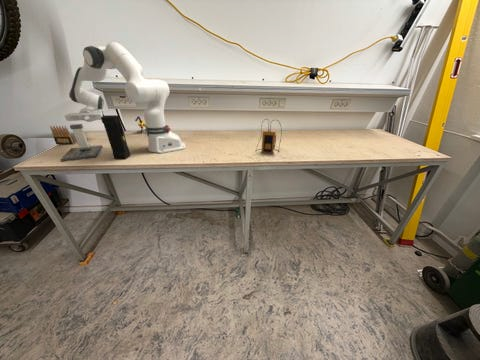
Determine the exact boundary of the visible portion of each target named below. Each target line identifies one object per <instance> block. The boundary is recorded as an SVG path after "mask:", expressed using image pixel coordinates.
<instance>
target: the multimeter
mask: <svg viewBox="0 0 480 360" xmlns="http://www.w3.org/2000/svg"><path fill="white" fill-rule="evenodd" d="M265 120H267V121H268V122H270V123H272V122H273V121H274V119H272V121H270V120H269V119H268V118H265V119H264V121H265ZM264 121H262V122H261V125H260V138H259V140H258V143H257V145H256V148H255V152H257V151H259V150H261V152H262V153H268V154H274V153H275V151H277V152H278V153H279V152H280V149H277V148H275V147H276V145H277V144H276V142H277V135H276V133H277V132H276V130H272V124H269V125H268V128H267V130H266V129H265V130H263V131H262V129H263V128H262V125H263V123H264ZM276 121H277V122H278V124H279V125H280V127H282V125H281V122H280V121H279V119H276ZM280 134H281V135H280V136H282V134H283V133H282V129H280ZM261 138H262V140H261ZM281 140H282V138H280V141H279V143H281ZM260 141H262V142H261V148H259V149H258V146H259V144H260ZM280 145H281V144H279V145H278V148H280ZM274 150H275V151H274Z"/></svg>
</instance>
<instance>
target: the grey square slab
mask: <svg viewBox="0 0 480 360" xmlns="http://www.w3.org/2000/svg"><path fill="white" fill-rule="evenodd" d="M90 146H91V147H90V148H89V149H84V150H79V147H71V148H70V149H69V150H68V151H67V152H66V153H65V154H64V155H63V156H61V158H60V159H59V160H60V162H61V163H62V162H71V161H79V160H80V161H81V160H88V159H96V158H97V157H98V155H100V153H101V151H102V150H101V149H104V148H103V147H104V146H103V145H102V144H101V145H90Z"/></svg>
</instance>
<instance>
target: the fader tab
mask: <svg viewBox="0 0 480 360" xmlns="http://www.w3.org/2000/svg"><path fill="white" fill-rule="evenodd" d="M69 128H70V130H72V132H73V135H74V137H75V140H76V142H77V145H78V148H79V150H84V149H89V148H90V147H91V146H92V145H89V142H88V140H87V137H86V134H85V132H84V130H83V129H84V126H83V123H74V124H70V125H69Z"/></svg>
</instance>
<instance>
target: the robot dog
mask: <svg viewBox="0 0 480 360" xmlns="http://www.w3.org/2000/svg"><path fill="white" fill-rule="evenodd" d="M134 121H135V122H138V121H139V122H138V123H137V126H138V127H139V128H140V134H141V133H143V129H144V128H145V129H144V131H145V132H146V124H145V120H142V119H141V118H140V116H139V115H138V116H137V117H136V118H135V119H134Z"/></svg>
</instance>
